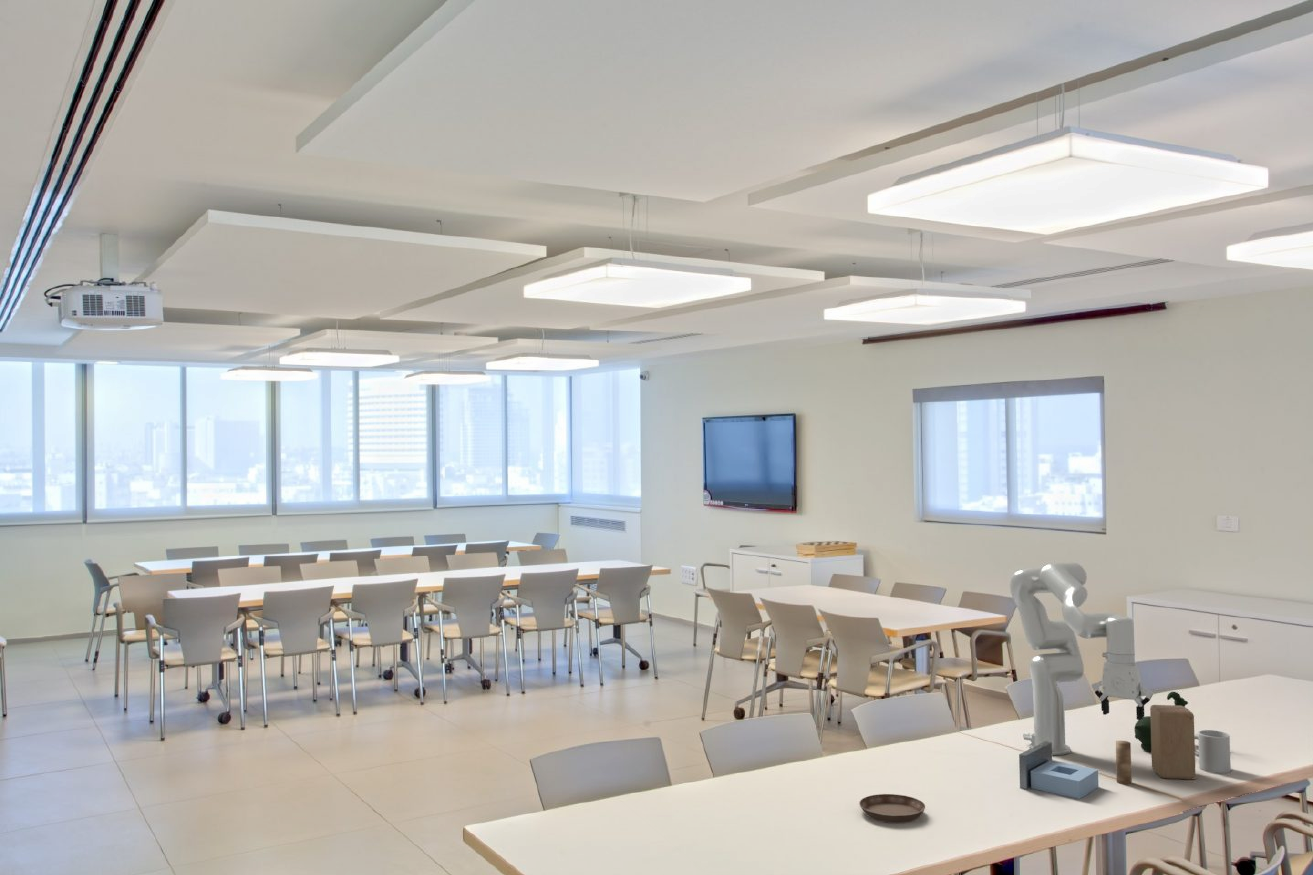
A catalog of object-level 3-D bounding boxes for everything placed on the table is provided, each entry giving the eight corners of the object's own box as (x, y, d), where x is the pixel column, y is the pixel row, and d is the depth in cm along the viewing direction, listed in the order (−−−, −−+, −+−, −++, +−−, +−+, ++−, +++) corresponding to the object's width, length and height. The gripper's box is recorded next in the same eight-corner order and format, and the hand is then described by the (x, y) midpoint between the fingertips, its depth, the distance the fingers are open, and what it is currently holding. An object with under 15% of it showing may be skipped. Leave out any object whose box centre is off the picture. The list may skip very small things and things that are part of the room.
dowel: (1114, 783, 295) (1113, 742, 295) (1119, 779, 297) (1118, 739, 298) (1128, 786, 292) (1127, 745, 292) (1133, 782, 295) (1132, 742, 295)
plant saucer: (846, 809, 277) (846, 798, 277) (898, 800, 284) (898, 789, 284) (885, 830, 261) (885, 819, 261) (939, 820, 268) (939, 808, 268)
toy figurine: (1169, 744, 338) (1121, 749, 326) (1170, 688, 339) (1123, 690, 327) (1195, 751, 330) (1147, 756, 318) (1197, 693, 331) (1149, 696, 319)
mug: (1236, 770, 304) (1235, 734, 304) (1219, 775, 300) (1218, 738, 300) (1199, 760, 315) (1198, 725, 315) (1182, 764, 311) (1181, 729, 311)
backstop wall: (1019, 788, 291) (1019, 754, 292) (1046, 773, 304) (1045, 741, 304) (1026, 789, 290) (1025, 755, 290) (1052, 775, 303) (1051, 742, 303)
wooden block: (1196, 780, 296) (1194, 713, 296) (1160, 778, 298) (1158, 711, 298) (1186, 770, 306) (1184, 704, 306) (1151, 768, 308) (1149, 703, 308)
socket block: (1031, 787, 291) (1030, 770, 291) (1051, 776, 301) (1050, 759, 301) (1079, 798, 281) (1078, 781, 281) (1098, 786, 291) (1098, 769, 291)
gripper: (1086, 656, 299) (1088, 714, 298) (1147, 664, 287) (1149, 723, 286) (1096, 653, 304) (1098, 709, 304) (1156, 660, 292) (1158, 718, 291)
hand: (1122, 716), depth 295 cm, fingers open, 9 cm apart
